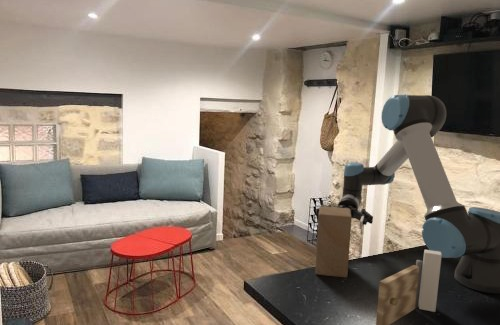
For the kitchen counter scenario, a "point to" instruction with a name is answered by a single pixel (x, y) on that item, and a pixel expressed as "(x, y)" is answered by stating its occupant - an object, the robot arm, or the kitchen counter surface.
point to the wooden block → (333, 241)
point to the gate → (397, 295)
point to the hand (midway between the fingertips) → (340, 222)
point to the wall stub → (428, 280)
